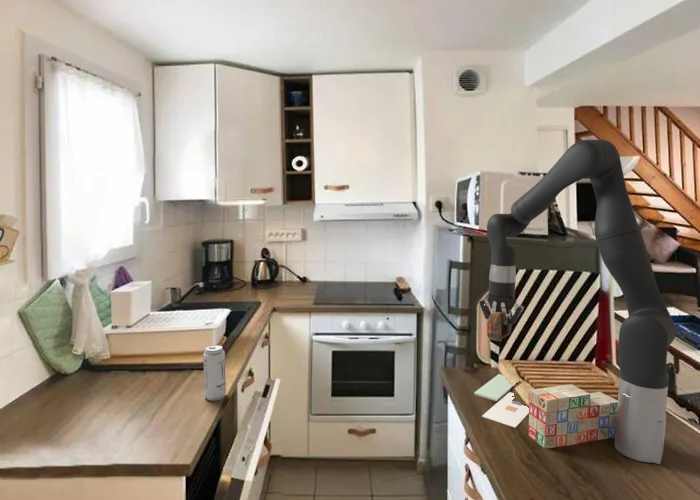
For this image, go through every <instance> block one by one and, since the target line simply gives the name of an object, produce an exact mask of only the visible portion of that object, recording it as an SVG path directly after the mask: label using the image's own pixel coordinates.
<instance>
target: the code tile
mask: <svg viewBox="0 0 700 500" xmlns="http://www.w3.org/2000/svg"><path fill="white" fill-rule="evenodd" d="M512 396H514V393H513V392H510V391H508V392H507V393H506V394H505V395H504V396H502V397H501V398H500V399H499V400H498V401H496V403H495V404H494V405H493V406H492V407H490V408H489V409H488V410H486V412H484V413H483V414H482V415H481V417H482V418H485V419H487V420H490V421H494V422H497V423H499V424H503V425H505V426H509V427H512V428H517V427H518V426H519V425H520V424H521V422H523V420H524V419H526V417H527V416H529V408H528V407H527V406H524V405H522V404H521V403H520V402H518V401H512V400H513V399H514V398H515V397H512Z"/></svg>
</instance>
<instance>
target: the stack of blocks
mask: <svg viewBox="0 0 700 500" xmlns="http://www.w3.org/2000/svg"><path fill="white" fill-rule="evenodd" d="M529 398H530V402H529V414H528V428H527V429H528V431H527V435H528V437H529V438H530V439H532V440H533V441H534V442H536V443H537V444H538V445H540V446H541V447H542V448H543V449H552V448H559V447H565V446H571V445H572V446H573V445H578V444H583V443H587V442H593V441H602V440H607V439H613V438H614V439H615V432H616V418H617V405H618V399H615V398H613V397H611V396H609V395H607V394H605V393H603V392H602V391H597V392H596V391H595V392H588V391H585V390H583V389H581V388H579V387H577V386H576V385H574V384H564V385H556V386H549V387H542V388H540V387H539V388H533V389H530V390H529Z"/></svg>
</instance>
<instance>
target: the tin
mask: <svg viewBox="0 0 700 500" xmlns="http://www.w3.org/2000/svg"><path fill="white" fill-rule="evenodd" d="M512 316H513V312H512V309H511V310H510V319H511V318H512ZM486 321H487V322H486V326H487V327H486V329H487V330H486V332H487V333H486V334H487V338H488V339H489V340H491V341H496V342H500V341H501V340H503V339H505V338H506V337H508V336H509V335H510V334H511V332H512V328H513V324H510V329H509V334H508V335H507V336H503V324H504V321H503V316H502V312H494V313H492V314H490V316H489V318H488V319H487V320H486Z"/></svg>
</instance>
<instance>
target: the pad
mask: <svg viewBox="0 0 700 500" xmlns="http://www.w3.org/2000/svg"><path fill="white" fill-rule="evenodd" d="M504 375H505V374H502V373H501V374H500V373H498V374H497V375H496V376H494V377H493V378H492V379H490V380H489V381H488V382H486V383H485V384H483V385H482V386H481V387H480V388H478V389H476V391H474V396H479V397H480V398H484V399H488V400H491V401H494V402H499V401H500V400H501V399H502V398H503V397H504V396H505V395H507V394H508V393H509V392H510V391H511V390H512V389H513V388H512V385H511V384H510V383H509V381H508V380H507V379H506V378H505V376H506V375H505V376H504ZM511 388H512V389H511ZM510 389H511V390H510Z"/></svg>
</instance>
